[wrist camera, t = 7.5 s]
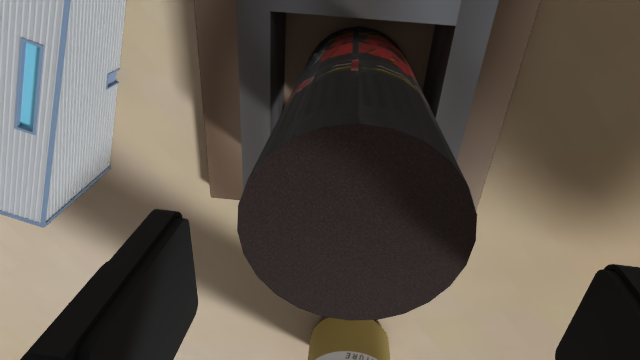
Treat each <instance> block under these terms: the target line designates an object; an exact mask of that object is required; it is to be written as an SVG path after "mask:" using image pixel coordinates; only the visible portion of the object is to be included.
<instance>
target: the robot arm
mask: <svg viewBox="0 0 640 360" xmlns="http://www.w3.org/2000/svg"><path fill="white" fill-rule="evenodd" d="M197 307H198V296H197V288H196V279H195V270H194V262H193V253H192V244H191V236H190V227H189V221H188V220H187V219H183V218H182V215H181V213H180V212H176V211H168V210H160V209H155V210H153V211H152V212H151V213H150V214H149V215H148V216H147V218H146V219H145V220H144V221H143V222H142V223H141V225H140V226H139V227H138V228H137V229H136V230H135V231H134V233H133V234H132V235H131V236H130V237H129V238H128V240H127V241H126V242H125V243H124V244H123V245H122V247H121V248H120V249H119V250H118V251H117V252H116V254H115V255H114V256H113V257H112V258H111V259H110V260H109V261H108V262H106V263H105V264H104V265H103V266H102V267H101V268H100V269H99V270H98V271H97V272H96V273H95V274H94V276H93V277H92V278H91V279H90V280H89V281H88V282H87V284H86V285H85V286H84V287H83V288H82V289H81V291H80V292H79V293H78V294H77V295H76V296H75V297H74V299H73V300H72V301H71V302H70V303H69V304H68V305H67V307H66V308H65V309H64V310H63V311H62V312H61V313H60V315H59V316H58V317H57V318H56V319H55V320H54V322H53V323H52V324H51V325H50V326H49V327H48V328H47V330H46V331H45V332H44V333H43V334H42V335H41V336H40V338H39V339H38V340H37V341H36V342H35V343H34V344H33V346H32V347H31V348H30V349H29V350H28V351H27V352H26V354H25V355H24V356H23V357H22V358H21V359H20V360H173V359H174V357H175V355H176V353H177V351H178V349H179V347H180V345H181V343H182V341H183V339H184V337H185V335H186V333H187V331H188V329H189V327H190V325H191V323H192V321H193V319H194V317H195V314H196V311H197ZM555 360H640V268H639V267H632V266H623V265H615V264H611V265H608V266H606V267H605V269H604V270H599V271H598V272H597V273H596V274H595V276H594V278H593V280H592V282H591V284H590V286H589V288H588V290H587V292H586V293H585V295H584V297H583V299H582V301H581V303H580V305H579V307H578V309H577V311H576V313H575V315H574V316H573V318H572V320H571V322H570V324H569V326H568V328H567V330H566V332H565V334H564V336H563V337H562V339H561V341H560V343H559V345H558V347H557V349H556V353H555Z"/></svg>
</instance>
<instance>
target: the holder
mask: <svg viewBox="0 0 640 360" xmlns="http://www.w3.org/2000/svg"><path fill="white" fill-rule="evenodd" d="M540 1H541V0H194V6H195V17H196V29H197V41H198V53H199V64H200V76H201V88H202V100H203V112H204V123H205V135H206V147H207V159H208V171H209V182H210V194H211V197H213V198H223V199H233V200H240V199H241V196H242V194H243V191H244V188H245V185H246V183H247V180H248V178H249V176H250V174H251V172H252V170H253V168H254V166H255V164H256V162H257V160H258V158H259V156H260V154H261V152H262V150H263V148H264V146H265V144H266V142H267V141H268V139H269V137H270V135H271V133H272V131H273V129H274V127H275V125H276V123H277V121H278V119H279V117H280V115H281V113H282V111H283V109H284V107H285V105H286V103H287V101H288V99H289V97H290V95H291V93H292V91H293V89H294V87H295V86H296V84H297V82H298V80H299V78H300V76H301V74H302V72H303V70H304V68H305V66H306V64H307V62H308V60H309V58H310V56H311V54H312V53H313V51H314V50H315V49H316V47H317V46H318V45H319V43H320V42H321V41H323V40H324V39H325V38H326V37H328V36H329V35H330V34H332V33H334V32H337V31H339V30H341V29H344V28H350V27H357V26H360V27H367V28H373V29H375V30H378V31H380V32H382V33H384V34H386V35H387V36H388V37H390V38H391V39H392V40H393V41H394V42H396V43H397V45H398V46H399V48H400V49H401V51H402V52H403V54H404V55H405V57H406V60H407V62H408V64H409V66H410V68H411V70H412V72H413V74H414V76H415V78H416V80H417V82H418V84H419V86H420V88H421V90H422V92H423V94H424V96H425V98H426V100H427V102H428V104H429V107H430V109H431V111H432V113H433V115H434V117H435V119H436V121H437V123H438V125H439V127H440V129H441V131H442V133H443V135H444V137H445V139H446V141H447V143H448V145H449V147H450V149H451V151H452V153H453V156H454V158H455V160H456V162H457V164H458V166H459V168H460V170H461V172H462V174H463V176H464V178H465V180H466V182H467V184H468V186H469V189H470V192H471V196H472V199H473V203H474V206H475V210H477V206H478V203H479V200H480V197H481V193H482V190H483V187H484V184H485V180H486V177H487V174H488V171H489V167H490V164H491V161H492V158H493V154H494V151H495V148H496V145H497V141H498V138H499V135H500V132H501V128H502V125H503V122H504V119H505V115H506V112H507V109H508V105H509V102H510V99H511V96H512V92H513V89H514V86H515V83H516V79H517V76H518V73H519V70H520V66H521V63H522V60H523V57H524V53H525V50H526V47H527V44H528V40H529V37H530V34H531V31H532V27H533V24H534V21H535V18H536V14H537V11H538V8H539V5H540Z"/></svg>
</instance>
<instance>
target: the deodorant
mask: <svg viewBox="0 0 640 360" xmlns="http://www.w3.org/2000/svg"><path fill="white" fill-rule="evenodd" d="M476 222H477V213H476V210H475V206H474V203H473V199H472V196H471V192H470V189H469V186H468V184H467V182H466V180H465V178H464V176H463V174H462V172H461V170H460V168H459V166H458V164H457V162H456V160H455V158H454V156H453V153H452V151H451V149H450V147H449V145H448V143H447V141H446V139H445V137H444V135H443V133H442V131H441V129H440V127H439V125H438V123H437V121H436V119H435V117H434V115H433V113H432V111H431V109H430V107H429V104H428V102H427V100H426V98H425V96H424V94H423V92H422V90H421V88H420V86H419V84H418V82H417V80H416V78H415V76H414V74H413V72H412V70H411V68H410V66H409V64H408V62H407V60H406V57H405V55H404V54H403V52H402V51H401V49H400V48H399V46H398V45H397V43H396V42H394V41H393V40H392V39H391V38H390V37H388V36H387V35H386V34H384V33H382V32H380V31H378V30H375V29H373V28H367V27H360V26H357V27H350V28H344V29H341V30H339V31H337V32H334V33H332V34H330V35H329V36H328V37H326V38H325V39H324V40H323V41H321V42H320V43H319V45H318V46H317V47H316V49H315V50H314V51H313V53H312V54H311V56H310V58H309V60H308V62H307V64H306V66H305V68H304V70H303V72H302V74H301V76H300V78H299V80H298V82H297V84H296V86H295V87H294V89H293V91H292V93H291V95H290V97H289V99H288V101H287V103H286V105H285V107H284V109H283V111H282V113H281V115H280V117H279V119H278V121H277V123H276V125H275V127H274V129H273V131H272V133H271V135H270V137H269V139H268V141H267V142H266V144H265V146H264V148H263V150H262V152H261V154H260V156H259V158H258V160H257V162H256V164H255V166H254V168H253V170H252V172H251V174H250V176H249V178H248V180H247V183H246V185H245V188H244V191H243V194H242V196H241V199H240V202H239V205H238V227H237V231H238V235H239V238H240V242H241V245H242V249H243V253H244V255H245V257H246V259H247V260H248V262H249V263H250V265H251V267H252V268H253V270H254V272H255V273H256V275H257V276H258V277H259V278H260V279H261V280H262V281H263V282H264V283H265V284H266V285H267V286H268V287H269V288H270V289H271V290H272V291H273V292H274V293H275V294H277V295H278V296H280V297H282V298H283V299H285V300H286V301H288V302H290V303H291V304H293V305H295V306H296V307H298V308H301V309H304V310H306V311H309V312H312V313H315V314H317V315H320V316H323V317H330V318H336V319H343V320H349V321H353V320H378V319H383V318H387V317H391V316H396V315H400V314H404V313H406V312H409V311H411V310H413V309H415V308H417V307H420V306H422V305H424V304H426V303H428V302H430V301H431V300H432V299H434V298H435V297H436V296H437V295H439V294H440V293H441V292H443V291H444V290H445V289H447V288H448V287H449V286H450V285H451V284H452V283H453V281H454V280H455V279H456V277H457V276H458V275H459V274H460V272H461V271H462V270H463V269H464V267H465V266H466V264H467V262H468V259H469V256H470V254H471V251H472V249H473V246H474V244H475V241H476Z"/></svg>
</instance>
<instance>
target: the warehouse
mask: <svg viewBox="0 0 640 360" xmlns="http://www.w3.org/2000/svg"><path fill="white" fill-rule="evenodd" d="M125 7H126V0H0V214H2V215H5V216H8V217H11V218H15V219H18V220H21V221H24V222H27V223H30V224H34V225H37V226H40V227H43V228H44V227H45V226H47V225H48V224H49V223H50V222H51V221H52V220H53V219H54V218H56V217H57V216H58V215H59V214H60V213H61V212H62V211H63V210H65V209H66V208H67V207H68V206H69V205H70V204H71V203H72V202H73V201H75V200H76V199H77V198H78V197H79V196H80V195H81V194H82V193H84V192H85V191H86V190H87V189H88V188H89V187H90V186H91V185H92V184H94V183H95V182H96V181H97V180H98V179H99V178H100V177H101V176H103V175H104V174H105V173H106V172H107V171H108V170H109V169H110V168H111V166H110V157H111V147H112V137H113V127H114V117H115V107H116V97H117V87H118V83H119V82H117V81H116V72H117V71H118V70H120V68H119V67H120V57H121V47H122V37H123V27H124V17H125Z"/></svg>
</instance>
